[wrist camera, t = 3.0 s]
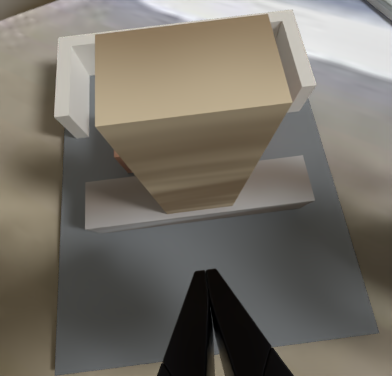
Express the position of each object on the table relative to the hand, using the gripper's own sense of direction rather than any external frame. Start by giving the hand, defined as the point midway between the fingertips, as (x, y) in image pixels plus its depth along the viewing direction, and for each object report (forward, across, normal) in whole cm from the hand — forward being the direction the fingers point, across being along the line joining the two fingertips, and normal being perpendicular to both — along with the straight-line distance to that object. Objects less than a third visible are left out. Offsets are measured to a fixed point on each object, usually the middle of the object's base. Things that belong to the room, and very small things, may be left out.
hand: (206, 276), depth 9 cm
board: (+10, 0, 0) cm, 10 cm away
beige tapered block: (+8, 0, +2) cm, 8 cm away
